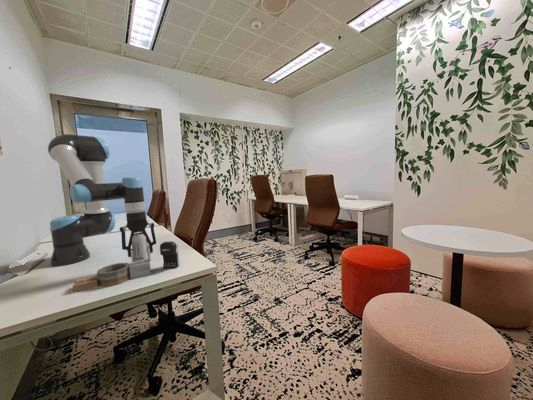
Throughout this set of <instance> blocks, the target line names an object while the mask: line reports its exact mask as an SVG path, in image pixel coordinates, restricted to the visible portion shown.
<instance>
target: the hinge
mask: <svg viewBox="0 0 533 400" xmlns="http://www.w3.org/2000/svg"><path fill="white" fill-rule="evenodd" d="M150 262H151V261H149V259H144V260H139V261H135V262H132V261H131V262H129V263H128V262H117V263H113V264H110V265H107V266H104V267H101V268H100V269H98V270H97V272H96V275H94V276H88V277H84V278H83V277H82V278H79V279H78V278H77V279H76V280H75V282H74V283H73V285H72V291H73V294H74V293H78V292H82V291H86V290H91V289H95V288H98V287H99V286H100V287H101V288H104V287H112V286H116V285H117V286H118V285H121V284H123V283H126V282H127V281H129V280H134V279H138V278H142V277H146V276H150V275H151V271H152V269H151V263H150Z"/></svg>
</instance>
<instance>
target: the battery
mask: <svg viewBox="0 0 533 400" xmlns="http://www.w3.org/2000/svg"><path fill="white" fill-rule="evenodd" d="M159 253H160V256H162V259H163V265H162V267H163V268H164V269H175V268H178V267H179V266H180V258H179V257H180V256H179V255H180V254H179V246H178V242H177V241H174V240H173V241H172V240H169V241H168V240H167V241H163V242H162V243H160V246H159Z"/></svg>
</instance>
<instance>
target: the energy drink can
mask: <svg viewBox="0 0 533 400" xmlns="http://www.w3.org/2000/svg"><path fill="white" fill-rule="evenodd" d="M148 246H149V244H148V242H147V240H146V236H145V235H144V234H143V233H142V232H137V233H134V235H133V237H132V245H131V249H133V257H134V262H135V261H139V260H144V259H149V254H148Z"/></svg>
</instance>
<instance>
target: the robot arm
mask: <svg viewBox="0 0 533 400" xmlns="http://www.w3.org/2000/svg"><path fill="white" fill-rule="evenodd" d="M47 151H48V154H49V156H50V158H51V159H52V160H54V161H56V163H58V165H59V167H60V168H61V170H62V172H63V173H64V175H65V176H66V178H67V180H68V181H69V183H70V187H69V196H70V199H71V201H72V202H73V203H76V204H79V203H81V204H82V203H84V204H85V203H86V210H84V211H83V216H82V215H80V214H79V213H76V214H71V215H69V214H68V215H64V216H60V217H56V218H54V219H52V220H51V221H50V222H49V228H50V229H49V230H50V234H51V241H52V246H53V247H52V248H53V250H52V255H51V257H50V264H51V267H52V266H54V267H58V266H59V267H60V266H68V265H71V264H76V263H79V262H81V261H85V260H87V259H89V258H90V257H91V255H90V251H89V249H88V248H87V246H86V245H85V243H84V242H85V241H84V239H85V238H88V237H93V236H99V235H105V234H107V233H111V232H112V231H113V230H114V229H115V227H116V217H115V214H114V213H113V212H112V211H110V209H109V208H108V207H107V201H113V200H124V207H125V208H124V209H125V212H126V214H125V217H126V225H124V226H119V232H120V233H121V247H122V248H121V249H122V250H123V251H127V257H128V258H130V259H131V262H134V257H133V249H132V237H133V235H134V233H139V232H142V233H143V234H144V235H145V236H146V240H147V245H148V254H149V261H150V262H151V261H152V255H151V254H152V253H154V247H153V246H154V245H157V239H156V234H155V229H154V228H155V222H148V220H147V212H146V211H145V210H146V205H145V196H144V187H143V186H144V185H143V181H142V177H139V176H127V177H122V179H121V182H108V183H107V182H105V178H104V177H105V176H104V168H103V166H104V164H106V160H108V159H109V158H110V148H109V145H108V143H107V142H106V140H104V138H102V137H96V136H93V135H92V136H90V135H89V136H88V135H81V134H79V135H78V134H77V135H76V134H69V133H67V134H66V133H65V134H63V133H62V134H59V135H57V136H55V137H54V138H52V139H51V140H50V142H49V143H48V145H47ZM147 227H149V228H150V232H151V233H150V234H151V237H152V241H151V239H150V237H149V235H148V232H147V231H146V229H147ZM127 229H128V230H129V231H130V236H129V240H128V244H126V242H127V241H126V231H127Z"/></svg>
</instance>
